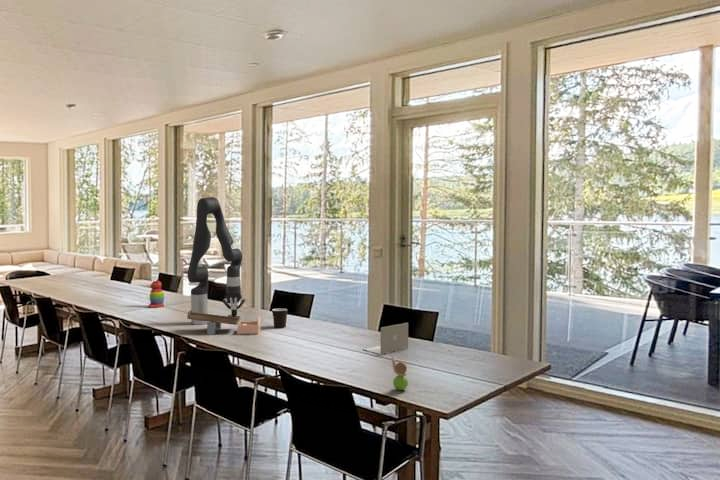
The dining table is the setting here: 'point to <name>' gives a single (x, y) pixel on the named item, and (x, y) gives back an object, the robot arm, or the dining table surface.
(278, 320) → the coffee mug
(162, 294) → the stacking bear
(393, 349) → the laptop
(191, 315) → the lever
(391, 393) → the dining table surface
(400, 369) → the snail figurine
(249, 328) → the cup
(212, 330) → the lever stand
